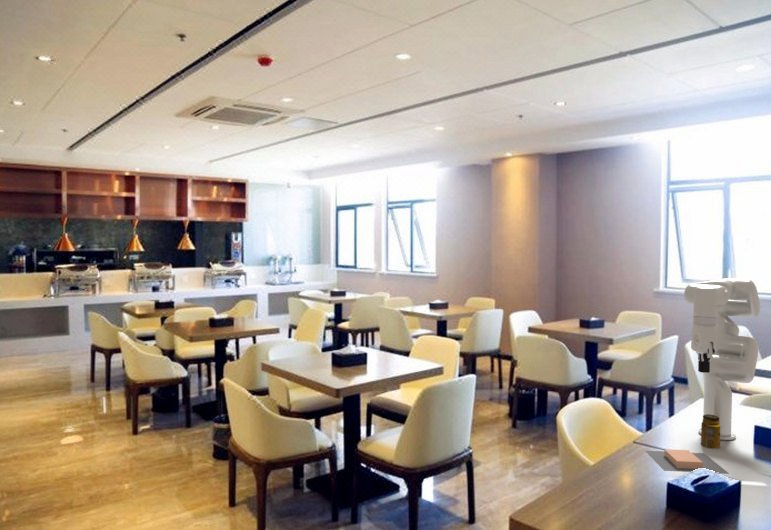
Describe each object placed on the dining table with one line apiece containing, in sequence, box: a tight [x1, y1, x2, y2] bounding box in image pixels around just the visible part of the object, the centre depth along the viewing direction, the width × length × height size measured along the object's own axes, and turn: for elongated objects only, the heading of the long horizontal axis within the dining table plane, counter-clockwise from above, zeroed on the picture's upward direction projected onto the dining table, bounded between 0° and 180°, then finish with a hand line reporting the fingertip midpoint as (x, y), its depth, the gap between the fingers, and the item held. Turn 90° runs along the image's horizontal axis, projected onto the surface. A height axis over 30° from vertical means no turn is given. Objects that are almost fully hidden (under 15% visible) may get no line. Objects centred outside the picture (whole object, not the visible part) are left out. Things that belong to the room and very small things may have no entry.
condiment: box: [700, 414, 721, 449], centre depth 205 cm, size 7×8×12 cm
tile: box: [663, 448, 703, 469], centre depth 189 cm, size 2×8×11 cm
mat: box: [645, 450, 730, 475], centre depth 190 cm, size 18×20×1 cm
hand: (703, 371), depth 201 cm, fingers closed
